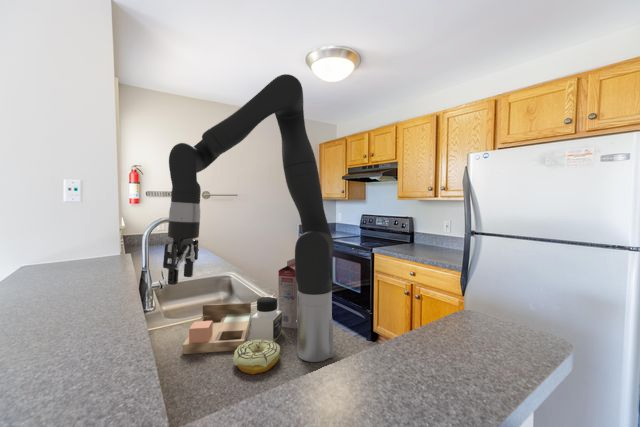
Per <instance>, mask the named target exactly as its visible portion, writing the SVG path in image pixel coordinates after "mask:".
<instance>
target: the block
mask: <svg viewBox="0 0 640 427" xmlns="http://www.w3.org/2000/svg"><path fill="white" fill-rule="evenodd" d="M212 334H213V321H199V320H198V321H195V320H194V321H193V323H192V324H191V325H190V327H189V328H188V336H189V344H190V343H205V342H209V340H210V338H211V336H212Z"/></svg>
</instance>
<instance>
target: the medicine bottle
mask: <svg viewBox="0 0 640 427" xmlns="http://www.w3.org/2000/svg"><path fill="white" fill-rule="evenodd" d="M250 326H251V328H250V331H251V333H250V336H251V337H250V339H251V340H258V339H261V340H270V341H273V342H275V343H276V340H278V338H279V337H280V336H281V334H282V332H283V330H282V328H283V327H282V311H278V306H277V299H276V298H275V297H272V295H265V296H261V297H259V298H257V300H256V312H255V314H253V315H252V316H251V321H250ZM251 340H250V341H251Z"/></svg>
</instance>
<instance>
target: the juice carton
mask: <svg viewBox="0 0 640 427" xmlns="http://www.w3.org/2000/svg"><path fill="white" fill-rule="evenodd" d="M277 284H278V288H277V290H278V297H277V298H278V306H277V311H282V328H287V329H295V330H298V284H297V281H296V277H295V257H294V258H292V259H289V260H287V261H286V265H285V266H284V267H282V268H280V269H279V270H278V283H277ZM296 320H297V322H296Z"/></svg>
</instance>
